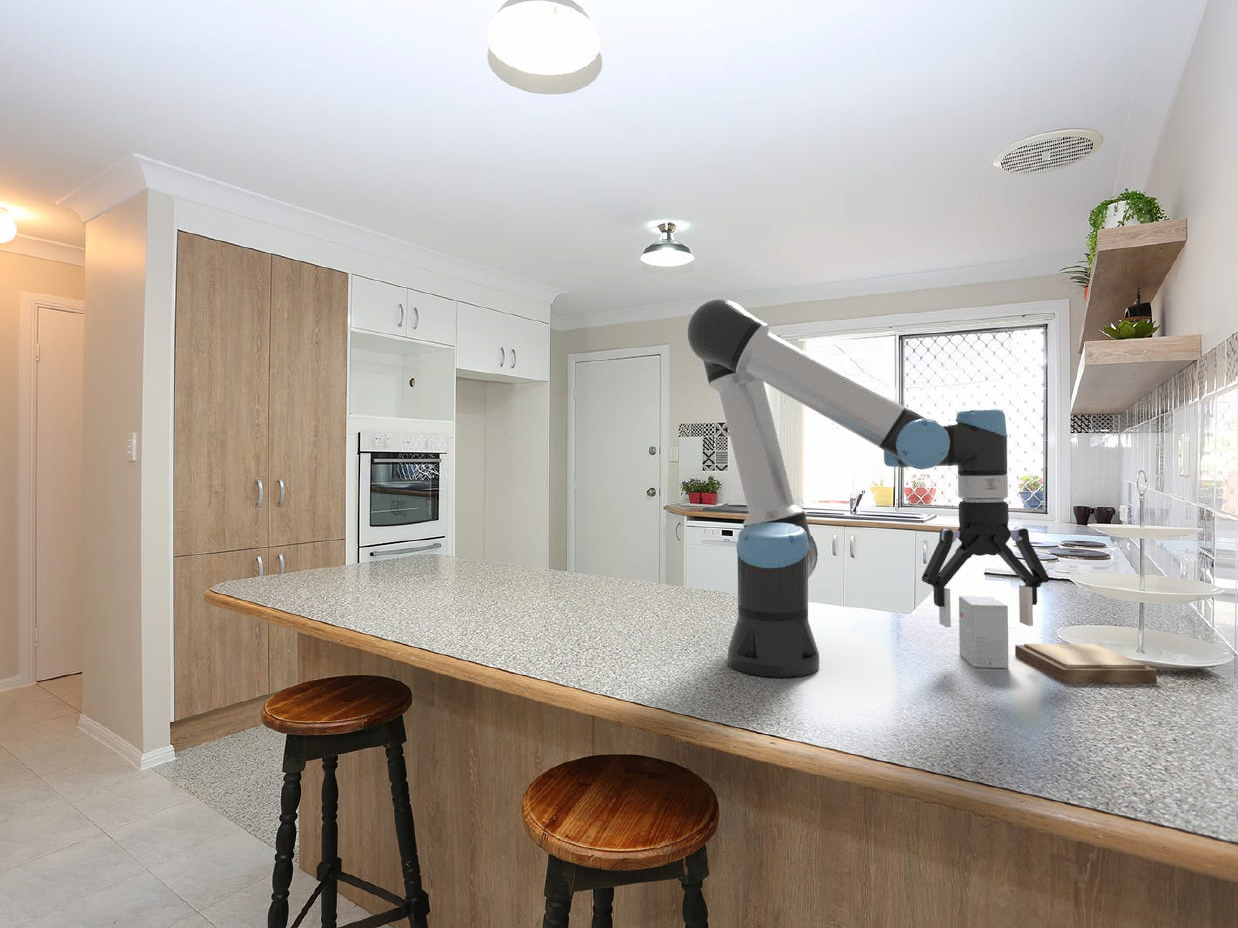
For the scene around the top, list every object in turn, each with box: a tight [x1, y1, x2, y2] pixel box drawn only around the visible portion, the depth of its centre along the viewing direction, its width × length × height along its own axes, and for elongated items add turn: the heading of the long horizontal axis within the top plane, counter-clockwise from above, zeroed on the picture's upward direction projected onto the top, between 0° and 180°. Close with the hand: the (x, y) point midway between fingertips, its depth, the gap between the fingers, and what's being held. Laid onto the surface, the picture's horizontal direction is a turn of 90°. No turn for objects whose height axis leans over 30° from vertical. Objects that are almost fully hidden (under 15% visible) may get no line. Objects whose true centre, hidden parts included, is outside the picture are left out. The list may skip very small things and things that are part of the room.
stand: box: [1014, 643, 1158, 684], centre depth 114 cm, size 14×14×2 cm
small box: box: [958, 595, 1009, 669], centre depth 119 cm, size 8×6×10 cm
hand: (985, 624), depth 118 cm, fingers open, 13 cm apart
